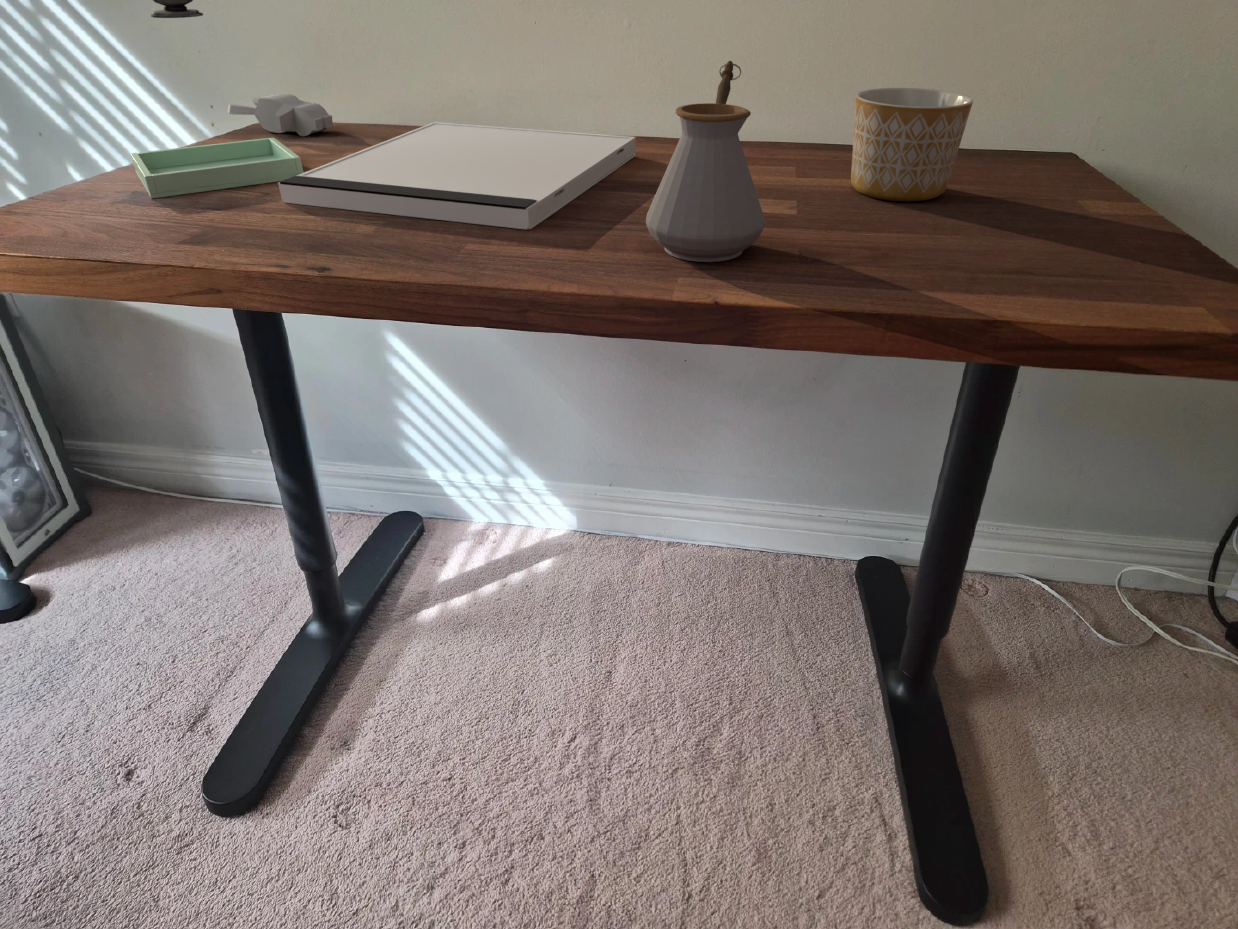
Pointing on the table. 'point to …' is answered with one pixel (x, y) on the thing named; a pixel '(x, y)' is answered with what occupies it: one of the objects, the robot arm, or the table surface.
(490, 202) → the flat white box
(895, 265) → the table surface
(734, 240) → the coffee pot
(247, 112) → the grey blocky piece
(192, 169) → the serving tray
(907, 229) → the table surface
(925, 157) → the planter
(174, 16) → the salt shaker
